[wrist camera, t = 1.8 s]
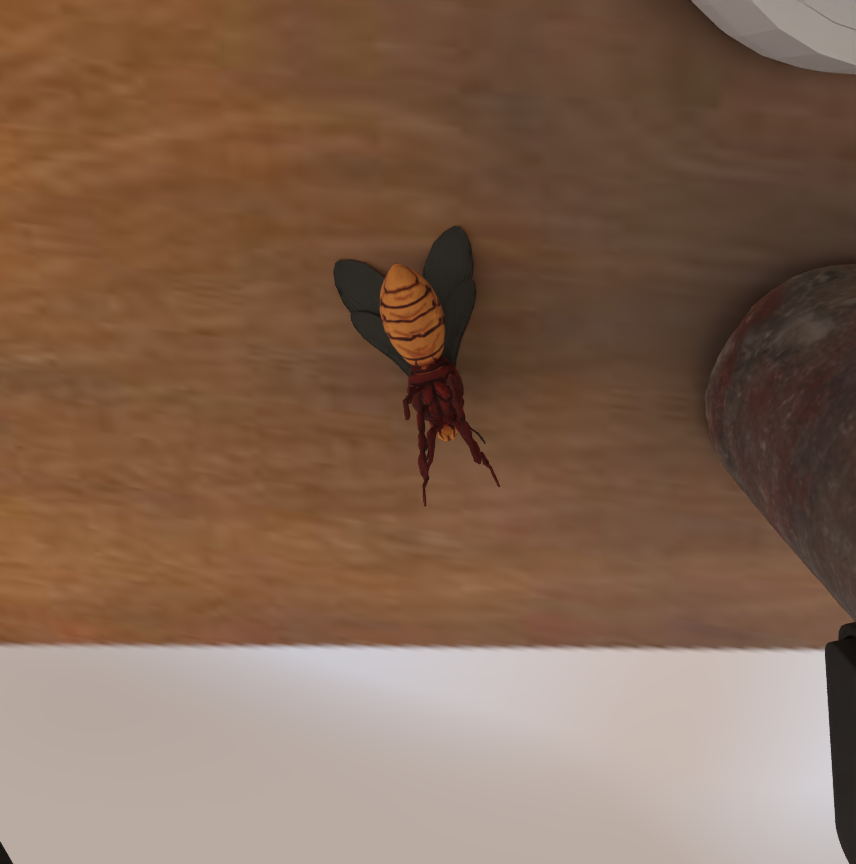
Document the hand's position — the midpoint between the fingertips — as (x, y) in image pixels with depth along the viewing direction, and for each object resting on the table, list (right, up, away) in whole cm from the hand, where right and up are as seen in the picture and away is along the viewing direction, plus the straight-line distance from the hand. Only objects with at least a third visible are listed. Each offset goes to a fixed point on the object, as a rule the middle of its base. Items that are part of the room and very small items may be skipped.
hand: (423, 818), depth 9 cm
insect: (0, +5, +10) cm, 11 cm away
